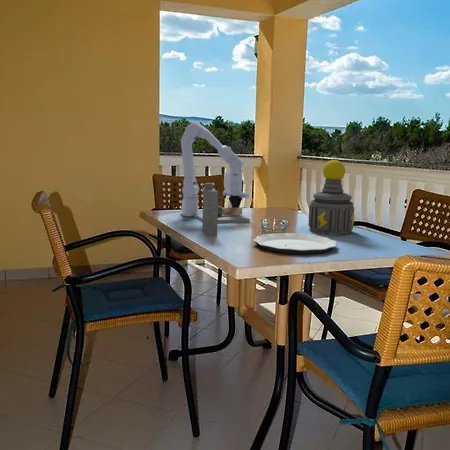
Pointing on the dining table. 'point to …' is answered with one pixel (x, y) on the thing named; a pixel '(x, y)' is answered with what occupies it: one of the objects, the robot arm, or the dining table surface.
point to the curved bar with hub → (229, 211)
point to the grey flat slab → (225, 218)
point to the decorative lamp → (332, 204)
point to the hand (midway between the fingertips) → (235, 211)
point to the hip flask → (210, 210)
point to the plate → (295, 243)
